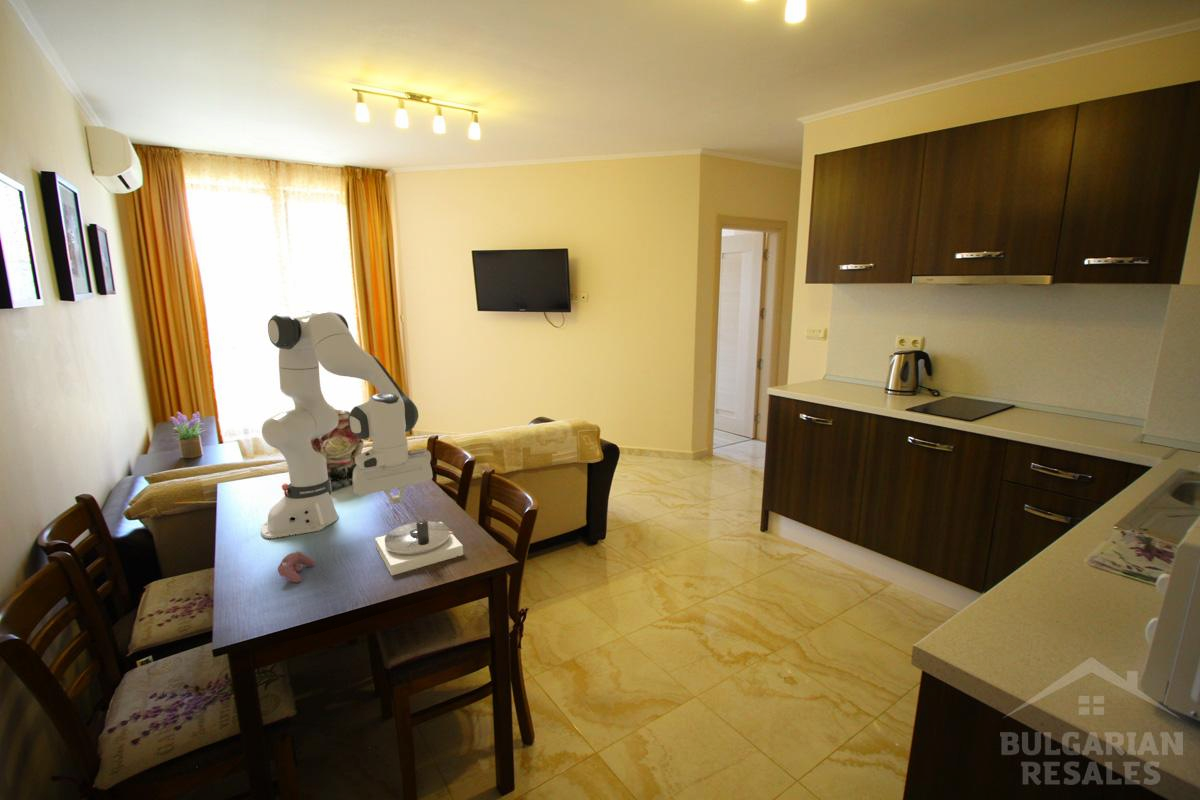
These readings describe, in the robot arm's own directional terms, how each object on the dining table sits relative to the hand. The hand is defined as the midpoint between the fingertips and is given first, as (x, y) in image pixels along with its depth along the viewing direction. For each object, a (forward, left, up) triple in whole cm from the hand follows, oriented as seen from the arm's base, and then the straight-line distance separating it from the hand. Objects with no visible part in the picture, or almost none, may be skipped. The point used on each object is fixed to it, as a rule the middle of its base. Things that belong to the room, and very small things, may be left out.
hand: (396, 502), depth 145 cm
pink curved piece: (-25, +12, -19) cm, 34 cm away
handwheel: (+6, +7, -16) cm, 18 cm away
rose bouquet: (-4, +87, -19) cm, 90 cm away
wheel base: (+6, +7, -19) cm, 21 cm away
